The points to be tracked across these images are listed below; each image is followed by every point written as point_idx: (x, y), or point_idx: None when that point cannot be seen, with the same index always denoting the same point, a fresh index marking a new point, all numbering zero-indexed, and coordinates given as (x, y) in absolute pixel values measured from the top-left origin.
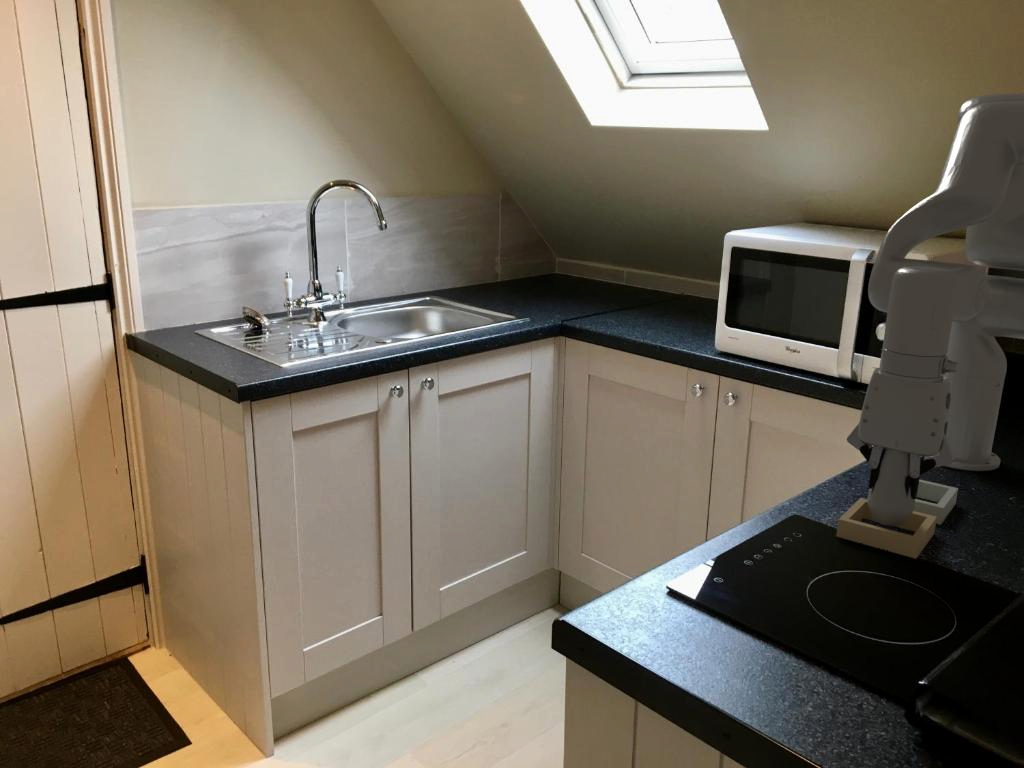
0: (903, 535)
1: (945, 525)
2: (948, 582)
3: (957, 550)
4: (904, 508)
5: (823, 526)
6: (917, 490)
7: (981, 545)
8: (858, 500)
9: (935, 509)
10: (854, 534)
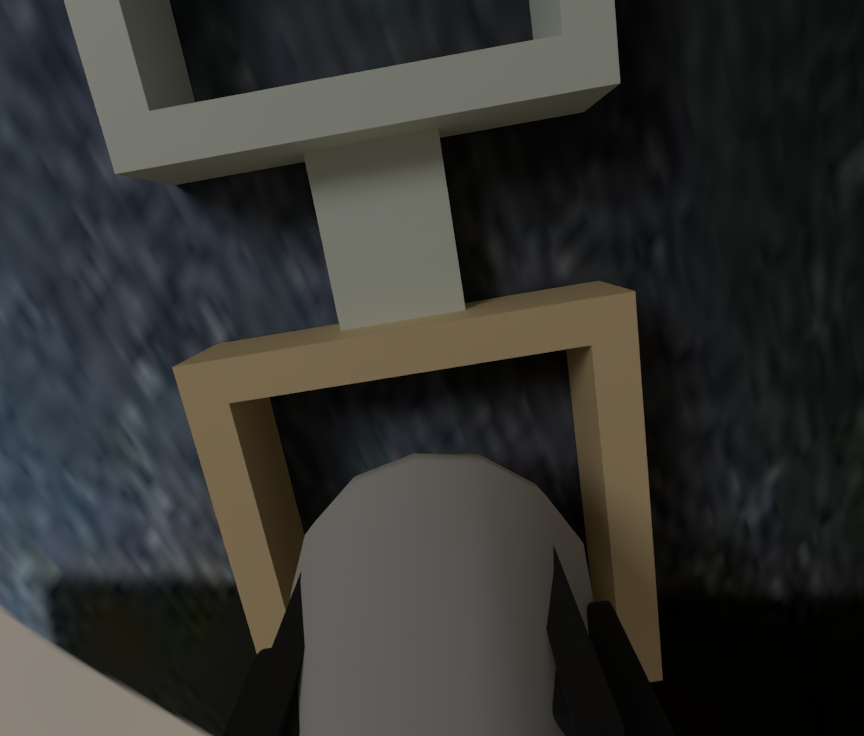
0: None
1: None
2: (781, 703)
3: (742, 389)
4: None
5: (207, 605)
6: (623, 633)
7: (826, 227)
8: (191, 421)
9: (565, 100)
10: None
